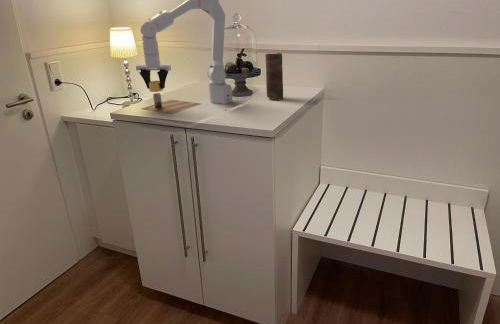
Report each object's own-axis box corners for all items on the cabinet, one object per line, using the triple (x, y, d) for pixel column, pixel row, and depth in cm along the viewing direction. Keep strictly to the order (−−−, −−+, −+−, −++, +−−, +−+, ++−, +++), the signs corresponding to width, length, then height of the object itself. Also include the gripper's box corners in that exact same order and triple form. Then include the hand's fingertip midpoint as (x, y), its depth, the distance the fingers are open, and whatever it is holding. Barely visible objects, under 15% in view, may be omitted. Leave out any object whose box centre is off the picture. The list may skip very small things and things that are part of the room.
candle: (263, 100, 166) (263, 53, 159) (269, 96, 173) (268, 51, 165) (280, 101, 164) (280, 53, 156) (285, 97, 170) (285, 51, 162)
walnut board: (201, 105, 160) (201, 103, 160) (172, 116, 146) (172, 114, 146) (170, 101, 169) (170, 99, 169) (140, 111, 155) (140, 108, 155)
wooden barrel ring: (165, 89, 154) (164, 81, 153) (155, 92, 151) (154, 83, 149) (157, 88, 158) (156, 80, 156) (146, 91, 154) (145, 82, 152)
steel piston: (163, 106, 157) (162, 93, 155) (158, 108, 155) (156, 95, 153) (158, 105, 159) (156, 93, 157) (153, 107, 156) (151, 94, 154)
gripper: (172, 52, 150) (176, 86, 156) (140, 52, 154) (144, 85, 159) (164, 55, 144) (169, 90, 149) (131, 55, 147) (136, 89, 153)
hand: (156, 88), depth 154 cm, fingers closed on wooden barrel ring, 5 cm apart
